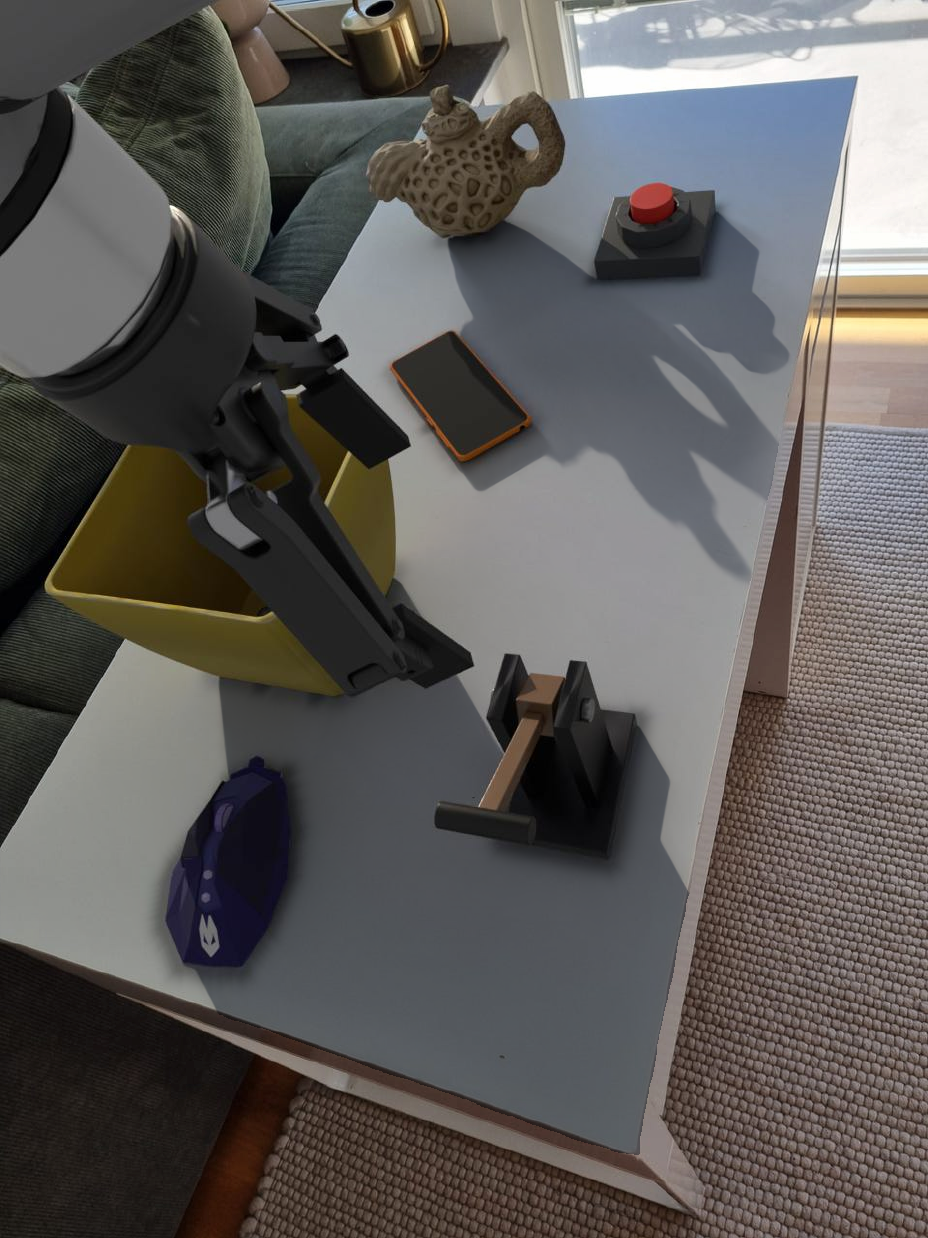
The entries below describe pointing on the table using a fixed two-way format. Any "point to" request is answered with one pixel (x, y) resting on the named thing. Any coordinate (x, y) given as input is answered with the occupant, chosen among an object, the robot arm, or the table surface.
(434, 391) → the smartphone
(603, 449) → the table surface
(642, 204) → the power button
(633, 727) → the switch bracket
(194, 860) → the computer mouse
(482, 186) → the teapot
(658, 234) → the control block
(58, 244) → the robot arm
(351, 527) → the flower pot
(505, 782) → the switch lever
